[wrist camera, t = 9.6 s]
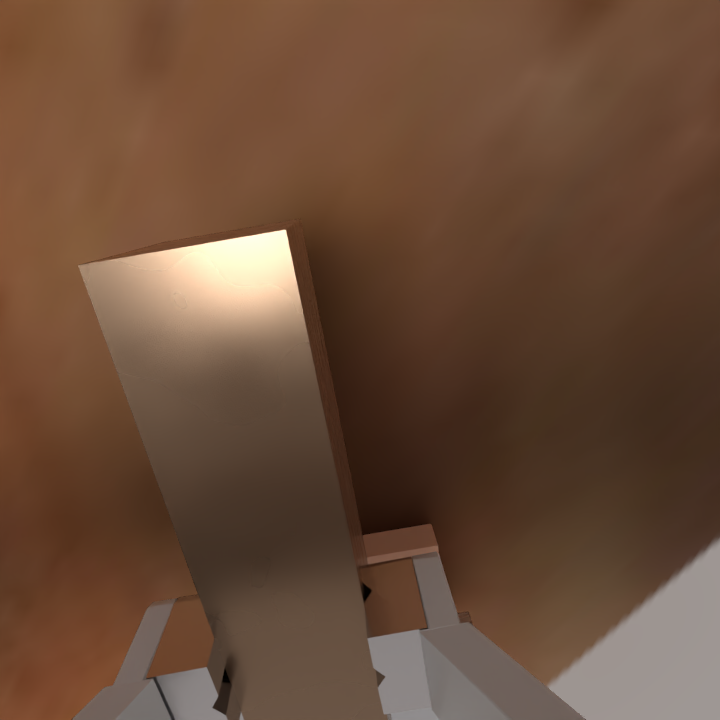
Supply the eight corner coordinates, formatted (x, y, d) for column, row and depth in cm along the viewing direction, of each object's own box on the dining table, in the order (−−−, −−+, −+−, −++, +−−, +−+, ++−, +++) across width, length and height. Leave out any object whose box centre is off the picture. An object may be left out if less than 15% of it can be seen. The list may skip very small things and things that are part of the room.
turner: (423, 197, 8) (471, 198, 6) (482, 740, 13) (522, 885, 11) (39, 263, 8) (-110, 297, 5) (243, 782, 13) (220, 939, 11)
